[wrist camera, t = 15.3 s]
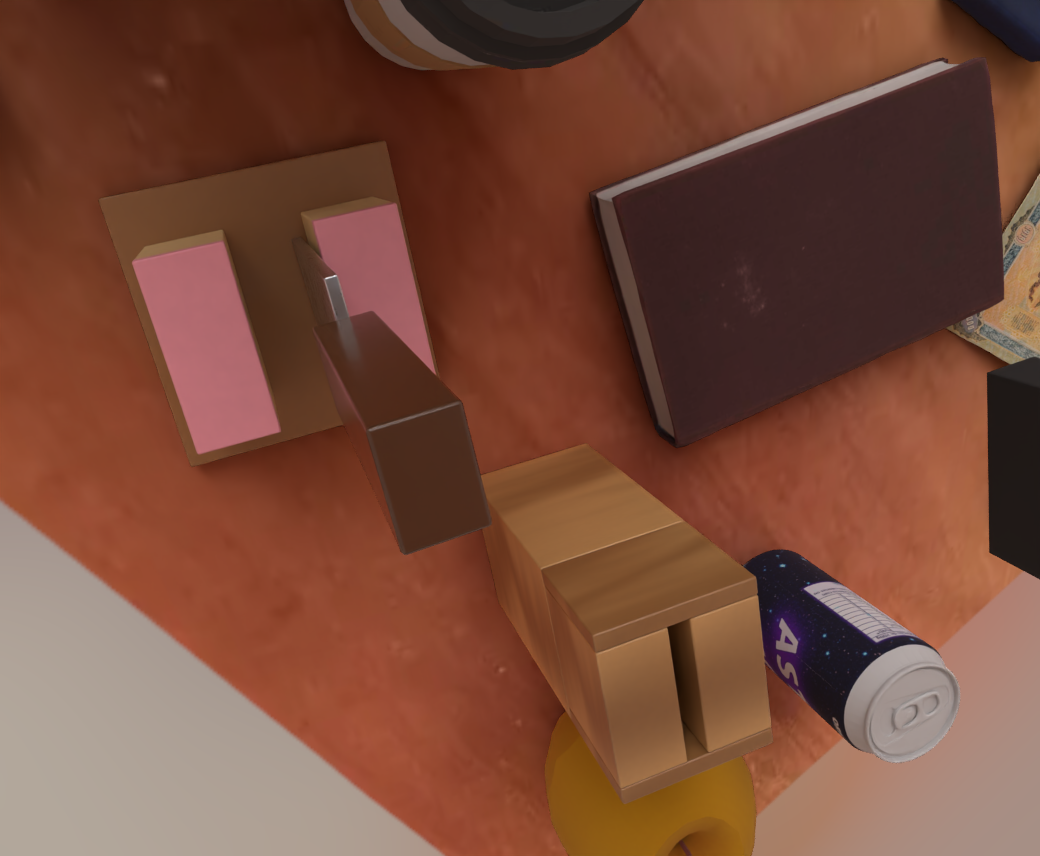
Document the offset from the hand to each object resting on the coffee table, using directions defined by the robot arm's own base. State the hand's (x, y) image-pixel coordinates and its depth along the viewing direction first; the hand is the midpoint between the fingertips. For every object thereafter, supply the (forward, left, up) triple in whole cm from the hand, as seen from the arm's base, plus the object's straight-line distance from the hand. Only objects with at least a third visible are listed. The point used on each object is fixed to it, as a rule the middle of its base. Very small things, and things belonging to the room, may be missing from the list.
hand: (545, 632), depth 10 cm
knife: (0, 0, -28) cm, 28 cm away
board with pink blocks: (0, -1, -29) cm, 29 cm away
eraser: (-4, +39, -28) cm, 48 cm away
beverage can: (+22, +19, -29) cm, 41 cm away
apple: (+26, +9, -29) cm, 40 cm away
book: (+4, +23, -29) cm, 37 cm away
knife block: (+14, +8, -29) cm, 33 cm away
